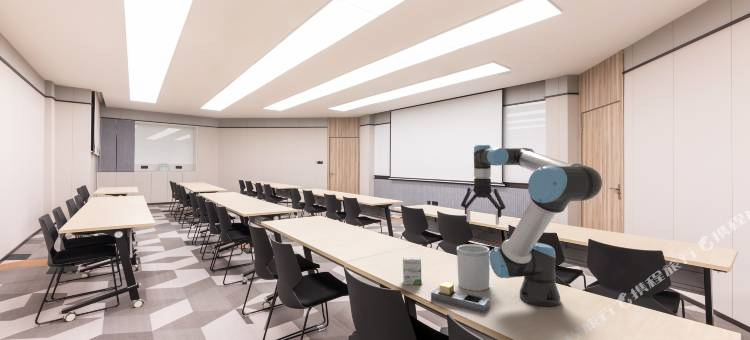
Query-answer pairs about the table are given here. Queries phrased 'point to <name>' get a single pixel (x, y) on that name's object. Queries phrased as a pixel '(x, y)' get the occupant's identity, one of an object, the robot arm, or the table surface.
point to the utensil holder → (473, 267)
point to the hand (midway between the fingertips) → (482, 222)
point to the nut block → (447, 289)
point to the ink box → (412, 271)
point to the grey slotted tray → (462, 300)
